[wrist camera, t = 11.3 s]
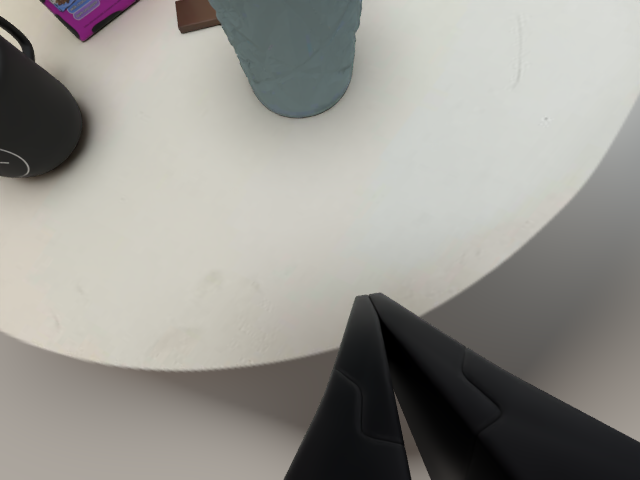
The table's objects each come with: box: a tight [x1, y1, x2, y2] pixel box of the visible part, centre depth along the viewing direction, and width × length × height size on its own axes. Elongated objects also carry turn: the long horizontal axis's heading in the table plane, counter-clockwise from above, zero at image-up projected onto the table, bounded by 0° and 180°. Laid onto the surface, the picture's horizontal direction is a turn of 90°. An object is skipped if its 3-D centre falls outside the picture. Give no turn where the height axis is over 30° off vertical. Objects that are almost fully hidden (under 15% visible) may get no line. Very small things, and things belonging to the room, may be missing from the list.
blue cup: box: [208, 0, 362, 118], centre depth 19 cm, size 10×10×12 cm
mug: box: [0, 16, 82, 178], centre depth 22 cm, size 12×9×7 cm
